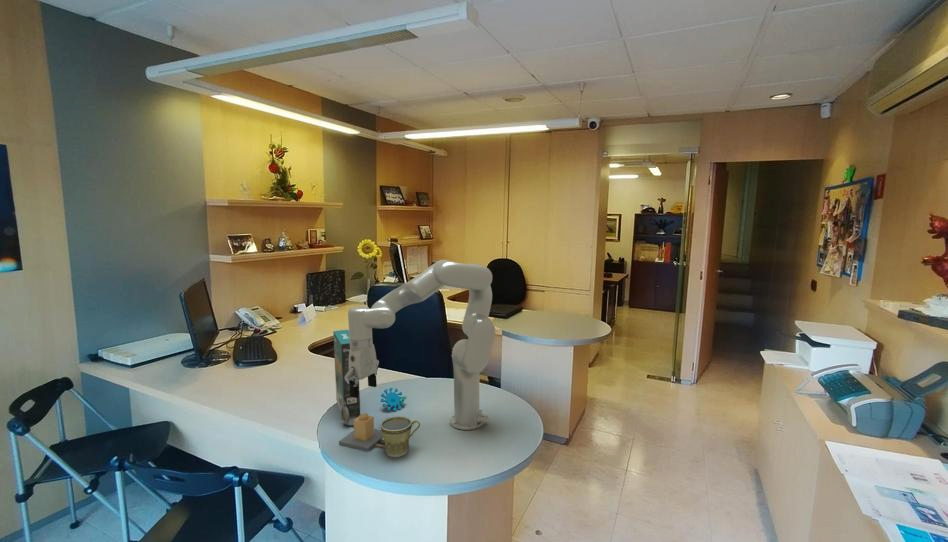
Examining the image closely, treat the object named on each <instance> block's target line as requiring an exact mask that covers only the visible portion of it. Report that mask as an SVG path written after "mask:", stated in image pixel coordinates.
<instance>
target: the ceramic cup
mask: <svg viewBox="0 0 948 542" xmlns="http://www.w3.org/2000/svg"><path fill="white" fill-rule="evenodd" d="M415 424H418V426H417V427H416V428H415V429H414V430H413V431H412V432H411V430H412V428H413V426H414V425H415ZM420 427H421V423H420V422H419V421H418V420H414V421H412V420H411V419H410V418H409V417H407V416H402V415H400V416H398V415H397V416H391V417H388V418H386V419H383V420H382V421H381V422H380V430H381V431H382V435H383V438H384V441H383V442H384V443H385V444H384V445H385V448H384V449H385V452H386V455H387V456H388V457H390V458H395V459H396V458H399V457H403V456H405V454H407V453H408V449H409V444H410V442H409V441H410V439H411V437H412V436H413V435H414V434H415V433H416V432H417V431H418V429H420Z"/></svg>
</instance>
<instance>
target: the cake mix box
mask: <svg viewBox="0 0 948 542" xmlns="http://www.w3.org/2000/svg"><path fill="white" fill-rule="evenodd" d="M333 349H334V350H333V351H334V355H333V356H334V375H335V377H334V379H335V380H334V381H335V397H336V398H335V399H336V402H337V405H338V407H339V410H340V412H341V408H342V406H344V402H343V400H344V401H345V402H346V407H347V408H348V411H349V418H351V417H359V415H360V414H361V405H360V404H361V401H360V399H361V397H360V393H361V392H359V397H358V398H354V397H351V396H350V386H348V384H347V383H346V380H345V378H344V377H345V375H346V374H347V373H348V371H349V351H350V340H349V329H341V330H333ZM355 380H356V379H354V380H353V382H355ZM357 386H358V387H359V388H360V381H359V382H358V384H357Z"/></svg>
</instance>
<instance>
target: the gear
mask: <svg viewBox="0 0 948 542" xmlns="http://www.w3.org/2000/svg"><path fill="white" fill-rule="evenodd" d="M393 390H394V391H393ZM388 391H389V392H388ZM398 391H399V389H398V388H396V387H395V389H393V387H389V389H387V388H386V389H384V391H383V392H382V393H381V395H380V397H381V398H380V403H383V404H382V407H383V408H386V407H387V408H386V410H387V411H388V412H390V411H391V410H392V412H396V411H397V410H401V409H402V407H403V406H404V405H405V400H406V399H407V398H408V396H407V395H404V396H402V395H403V392H402V391H399V392H398ZM397 392H398V393H397ZM396 407H397V408H396ZM391 408H392V409H391Z"/></svg>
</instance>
